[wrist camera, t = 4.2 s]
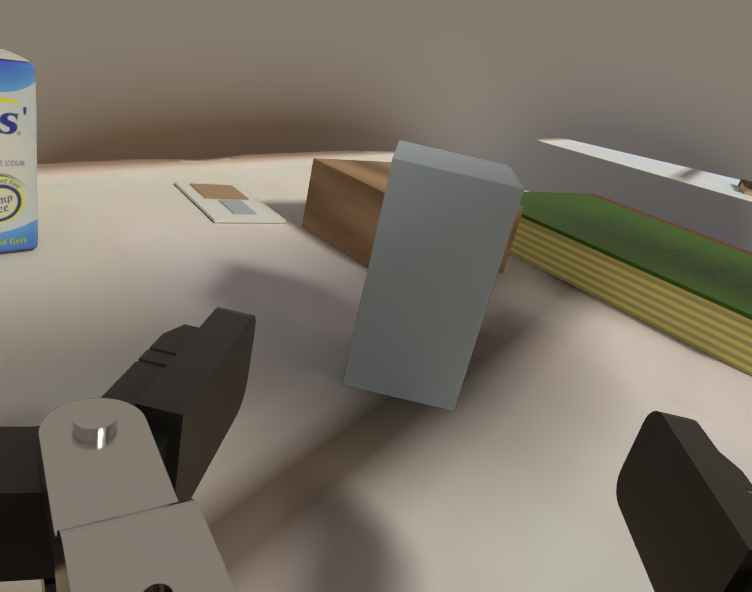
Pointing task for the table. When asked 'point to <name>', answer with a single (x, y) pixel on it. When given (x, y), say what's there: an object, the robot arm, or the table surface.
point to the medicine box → (18, 154)
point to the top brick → (431, 273)
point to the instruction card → (229, 203)
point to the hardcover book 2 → (746, 187)
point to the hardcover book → (644, 269)
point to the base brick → (355, 205)
